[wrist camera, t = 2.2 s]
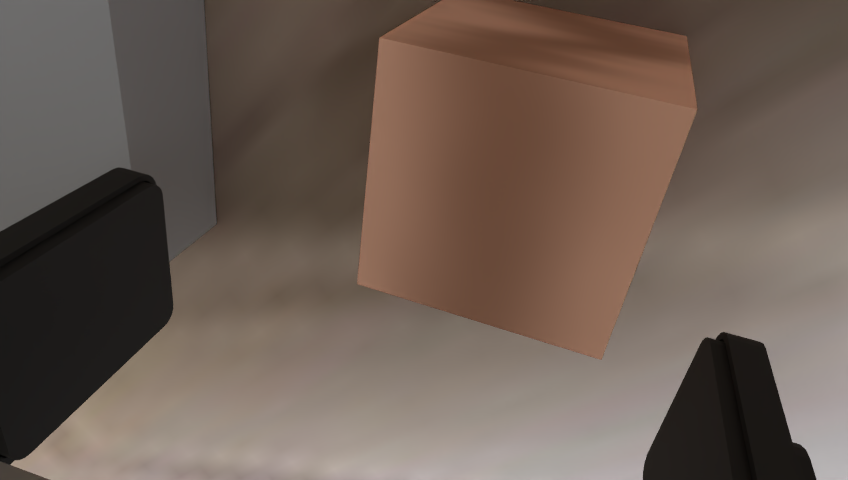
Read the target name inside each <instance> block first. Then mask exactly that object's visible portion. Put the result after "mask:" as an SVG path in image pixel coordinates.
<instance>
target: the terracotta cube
mask: <svg viewBox="0 0 848 480" xmlns="http://www.w3.org/2000/svg"><path fill="white" fill-rule="evenodd" d="M697 110H698V109H697V102H696V95H695V88H694V82H693V75H692V68H691V61H690V55H689V48H688V41H687V36H684V35H679V34H674V33H669V32H664V31H660V30H655V29H650V28H645V27H640V26H635V25H630V24H625V23H620V22H616V21H611V20H606V19H601V18H596V17H591V16H586V15H581V14H577V13H572V12H567V11H562V10H557V9H552V8H547V7H542V6H537V5H533V4H528V3H523V2H518V1H513V0H441V1H440V2H438V3H436V4H435V5H433V6H431V7H430V8H428V9H426V10H425V11H423V12H421V13H420V14H418V15H416V16H415V17H413V18H411V19H410V20H408V21H406V22H405V23H403V24H401V25H400V26H398V27H396V28H395V29H393V30H391V31H390V32H388V33H386V34H385V35H383V36H381V37H380V38H379V47H378V59H377V70H376V81H375V92H374V103H373V114H372V125H371V136H370V147H369V158H368V169H367V180H366V191H365V202H364V213H363V224H362V235H361V246H360V257H359V268H358V279H357V284H359V285H362V286H365V287H368V288H372V289H375V290H378V291H381V292H385V293H388V294H391V295H394V296H397V297H401V298H404V299H407V300H410V301H414V302H417V303H420V304H423V305H426V306H430V307H433V308H436V309H439V310H442V311H446V312H449V313H452V314H455V315H459V316H462V317H465V318H468V319H471V320H475V321H478V322H481V323H484V324H488V325H491V326H494V327H497V328H500V329H504V330H507V331H510V332H513V333H517V334H520V335H523V336H526V337H529V338H533V339H536V340H539V341H542V342H546V343H549V344H552V345H555V346H558V347H562V348H565V349H568V350H571V351H574V352H578V353H581V354H584V355H587V356H591V357H594V358H597V359H600V360H601V359H602V357H603V354H604V352H605V349H606V346H607V344H608V341H609V339H610V336H611V333H612V331H613V328H614V326H615V323H616V320H617V318H618V315H619V313H620V310H621V307H622V305H623V302H624V300H625V297H626V294H627V292H628V289H629V287H630V284H631V282H632V279H633V276H634V274H635V271H636V269H637V266H638V263H639V261H640V258H641V256H642V253H643V250H644V248H645V245H646V243H647V240H648V237H649V235H650V232H651V230H652V227H653V224H654V222H655V219H656V217H657V214H658V211H659V209H660V206H661V204H662V201H663V198H664V196H665V193H666V191H667V188H668V185H669V183H670V180H671V178H672V175H673V172H674V170H675V167H676V165H677V162H678V159H679V157H680V154H681V152H682V149H683V146H684V144H685V141H686V139H687V136H688V133H689V131H690V128H691V126H692V123H693V120H694V118H695V115H696V113H697Z"/></svg>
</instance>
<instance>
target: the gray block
mask: <svg viewBox="0 0 848 480" xmlns="http://www.w3.org/2000/svg"><path fill="white" fill-rule="evenodd" d="M118 167H120V168H126V169H129V170H133V171H136V172H140V173H144V174H147V175H150V176H151V177H153V178H154V180H155V182H156V185H157V186H159V187H160V188H161V190H162V193H163V201H164V212H165V223H166V233H167V244H168V255H169V262H170V261H171V260H172V259H173V258H175V257H176V256H177V255H178V254H180V253H181V252H182V251H183V250H185V249H186V248H187V247H188V246H190V245H191V244H192V243H194V242H195V241H196V240H197V239H199V238H200V237H201V236H202V235H204V234H205V233H206V232H207V231H209V230H210V229H211V228H212V227H214V226H215V225H216V224H217V220H216V203H215V185H214V167H213V150H212V132H211V115H210V97H209V80H208V62H207V44H206V27H205V9H204V0H0V231H2V230H4V229H6V228H8V227H9V226H11V225H13V224H15V223H17V222H18V221H20V220H22V219H24V218H26V217H27V216H29V215H31V214H33V213H35V212H36V211H38V210H40V209H42V208H44V207H45V206H47V205H49V204H51V203H53V202H54V201H56V200H58V199H60V198H62V197H63V196H65V195H67V194H69V193H71V192H72V191H74V190H76V189H78V188H80V187H81V186H83V185H85V184H87V183H89V182H90V181H92V180H94V179H96V178H98V177H99V176H101V175H103V174H105V173H107V172H109V171H110V170H112V169H115V168H118Z"/></svg>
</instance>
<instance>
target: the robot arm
mask: <svg viewBox="0 0 848 480" xmlns="http://www.w3.org/2000/svg"><path fill="white" fill-rule="evenodd" d="M172 311H173V297H172V287H171V276H170V265H169V255H168V244H167V233H166V223H165V212H164V201H163V193H162V190H161V188H160V187H159V186H157V185H156V182H155V180H154V178H153V177H151V176H150V175H147V174H144V173H140V172H136V171H133V170H129V169H126V168H120V167H118V168H115V169H112V170H110V171H109V172H107V173H105V174H103V175H101V176H99V177H98V178H96V179H94V180H92V181H90V182H89V183H87V184H85V185H83V186H81V187H80V188H78V189H76V190H74V191H72V192H71V193H69V194H67V195H65V196H63V197H62V198H60V199H58V200H56V201H54V202H53V203H51V204H49V205H47V206H45V207H44V208H42V209H40V210H38V211H36V212H35V213H33V214H31V215H29V216H27V217H26V218H24V219H22V220H20V221H18V222H17V223H15V224H13V225H11V226H9V227H8V228H6V229H4V230H2V231H0V480H49V479H46V478H44V477H41V476H38V475H35V474H33V473H30V472H27V471H25V470H22V469H19V468H17V467H14V466H11V465H10V464H11V463H12V462H13V461H14V460H21V459H23V458H25V457H26V456H28V455H29V454H30V453H31V452H32V451H33V450H35V449H36V448H37V447H38V446H39V445H40V444H41V443H42V442H43V441H44V440H45V439H46V438H47V437H48V436H49V435H50V434H51V433H52V432H53V431H54V430H56V429H57V428H58V427H59V426H60V425H61V424H62V423H63V422H64V421H65V420H66V419H67V418H68V417H69V416H70V415H71V414H72V413H73V412H74V411H76V410H77V409H78V408H79V407H80V406H81V405H82V404H83V403H84V402H85V401H86V400H87V399H88V398H89V397H90V396H91V395H92V394H93V393H94V392H96V391H97V390H98V389H99V388H100V387H101V386H102V385H103V384H104V383H105V382H106V381H107V380H108V379H109V378H110V377H111V376H112V375H113V374H114V373H116V372H117V371H118V370H119V369H120V368H121V367H122V366H123V365H124V364H125V363H126V362H127V361H128V360H129V359H130V358H131V357H132V356H133V355H134V354H136V353H137V352H138V351H139V350H140V349H141V348H142V347H143V346H144V345H145V344H146V343H147V342H148V341H149V340H150V339H151V338H152V337H153V336H154V335H156V334H157V333H158V332H159V331H160V330H161V329H162V328H163V327H164V326H165V325H166V324H167V322H168V321H169V319H170V317H171V315H172ZM643 480H816V477H815V473H814V470H813V467H812V464H811V460H810V458H809V456H808V453H807V451H806V449H804V448H803V447H802V446H801V445H800V444H797V443H793V442H792V439H791V436H790V432H789V429H788V425H787V422H786V418H785V415H784V411H783V408H782V404H781V401H780V397H779V394H778V390H777V387H776V383H775V380H774V376H773V372H772V369H771V365H770V362H769V358H768V355H767V351H766V348H765V346H764V344H763V343H761V342H758V341H754V340H751V339H747V338H743V337H740V336H736V335H733V334H729V333H725V332H723V333H720V334H719V335H718V336H717V338H716V340H715V339H711V338H708V337H707V338H705V339H704V340H703V341H702V343H701V344H700V346H699V348H698V350H697V352H696V354H695V357H694V359H693V361H692V363H691V365H690V367H689V369H688V371H687V373H686V375H685V377H684V379H683V381H682V383H681V386H680V388H679V390H678V392H677V394H676V396H675V398H674V400H673V402H672V404H671V406H670V408H669V410H668V412H667V415H666V417H665V419H664V421H663V423H662V425H661V427H660V429H659V431H658V433H657V435H656V437H655V439H654V441H653V444H652V446H651V448H650V450H649V452H648V454H647V457H646V460H645V464H644V470H643Z"/></svg>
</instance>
